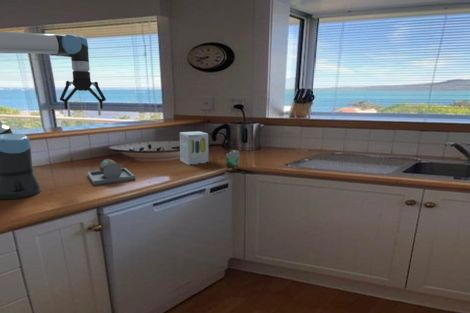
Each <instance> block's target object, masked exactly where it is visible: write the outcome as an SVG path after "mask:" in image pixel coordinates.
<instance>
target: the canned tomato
mask: <svg viewBox="0 0 470 313" xmlns="http://www.w3.org/2000/svg"><path fill="white" fill-rule="evenodd" d="M121 168H122V167H121V166H120V165H119V164H118V162H116V161H115V160H114V159H110V158H105V159H103V160H102V161H101V162H100V163H99V171H101V172H102V173H103V175H104V176H105V177H106V178H107V179H108V178H116V177H120V175H121V172H122V170H121Z"/></svg>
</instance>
